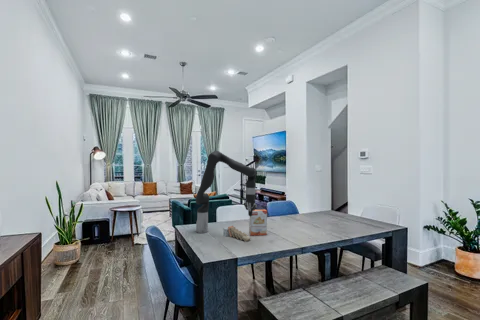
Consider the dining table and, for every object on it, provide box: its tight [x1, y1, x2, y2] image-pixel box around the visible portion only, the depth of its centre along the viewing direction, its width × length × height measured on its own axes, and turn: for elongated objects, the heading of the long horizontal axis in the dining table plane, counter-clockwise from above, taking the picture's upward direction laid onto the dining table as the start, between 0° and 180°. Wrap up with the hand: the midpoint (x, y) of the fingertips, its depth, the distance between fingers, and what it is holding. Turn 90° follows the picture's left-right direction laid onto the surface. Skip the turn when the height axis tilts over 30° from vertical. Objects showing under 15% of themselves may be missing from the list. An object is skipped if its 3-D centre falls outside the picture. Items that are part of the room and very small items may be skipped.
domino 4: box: [235, 230, 244, 241], centre depth 199 cm, size 2×5×8 cm
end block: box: [222, 227, 230, 238], centre depth 209 cm, size 3×10×6 cm, turn 135°
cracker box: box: [248, 209, 268, 237], centre depth 211 cm, size 14×6×21 cm, turn 101°
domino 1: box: [227, 225, 234, 237], centre depth 206 cm, size 2×5×8 cm, turn 136°
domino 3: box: [232, 228, 241, 240], centre depth 202 cm, size 2×5×8 cm
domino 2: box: [230, 226, 237, 239], centre depth 204 cm, size 2×5×8 cm
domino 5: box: [239, 232, 251, 242], centre depth 196 cm, size 2×5×8 cm
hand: (250, 215), depth 192 cm, fingers closed
